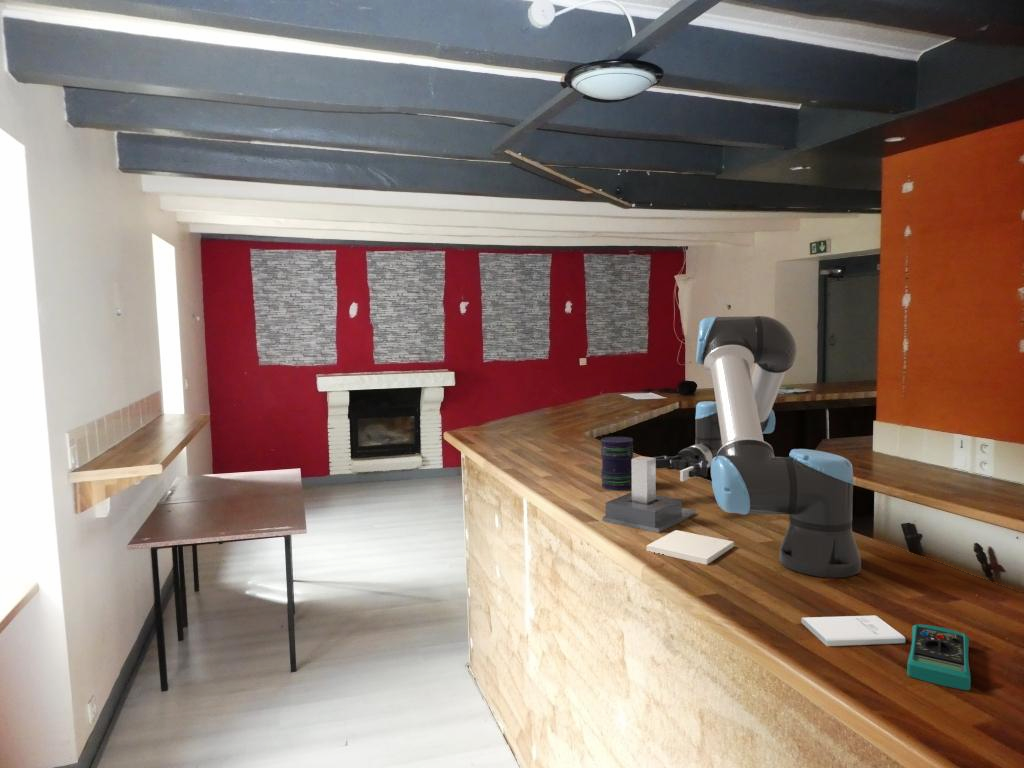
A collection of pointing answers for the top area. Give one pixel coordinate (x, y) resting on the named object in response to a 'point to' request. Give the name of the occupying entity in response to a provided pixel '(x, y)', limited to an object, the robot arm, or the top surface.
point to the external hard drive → (852, 630)
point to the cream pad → (690, 546)
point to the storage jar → (616, 463)
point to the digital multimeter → (939, 657)
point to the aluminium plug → (644, 480)
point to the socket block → (646, 513)
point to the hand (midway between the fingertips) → (657, 472)
